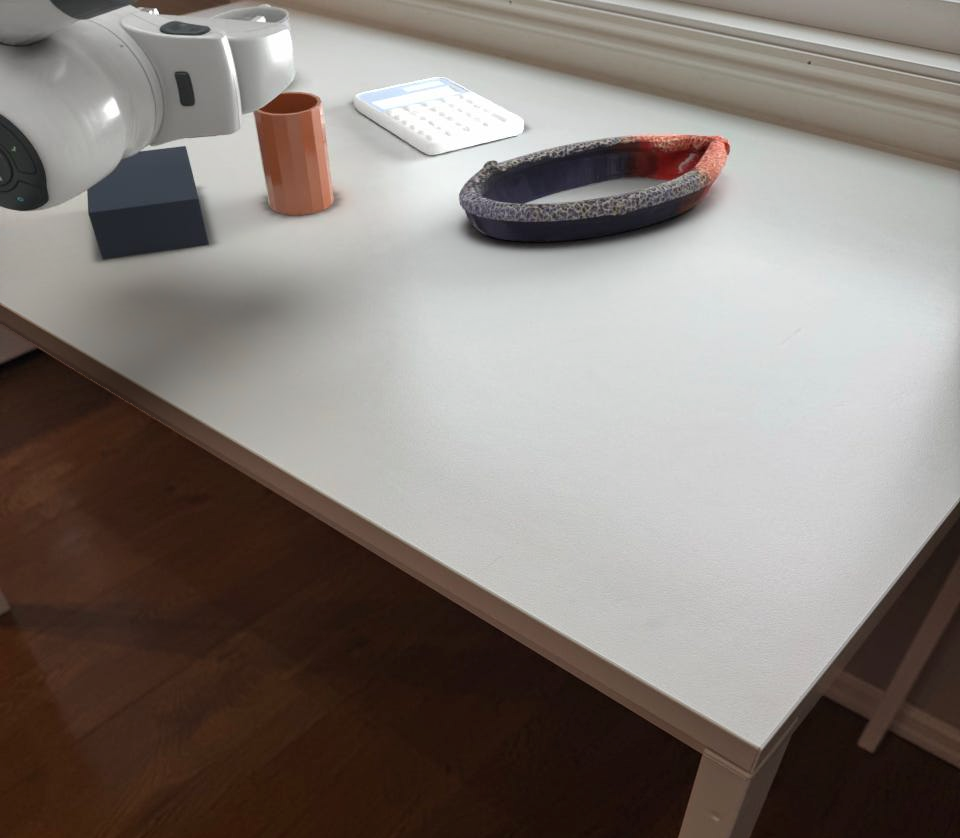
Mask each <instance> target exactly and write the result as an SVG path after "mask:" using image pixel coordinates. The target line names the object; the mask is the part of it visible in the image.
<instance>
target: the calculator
mask: <svg viewBox="0 0 960 838" xmlns="http://www.w3.org/2000/svg"><path fill="white" fill-rule="evenodd" d="M353 104H354V107H355V109H356V110H357V111H358V112H359V113H361V115H364V116H365V117H367V118H368V119H370V120H371V121H373V122H374V123H376V124H378V126H379V125H380V127H382V128H384V129H385V130H387V131H388V132H390V133H392V134H394V135H395V136H396V137H398V138H399V139H401V140H403V141H404V142H406V143H407V144H408V145H410V146H412V147H413V148H415V149H417V150H418V151H420V152H422V153H423V154H425V155H429V156H432V155H433V156H436V155H440V154H445V153H449V152H453V151H457V150H461V149H466V148H470V147H474V146H478V145H481V144H482V145H483V144H487V143H491V142H494V141H498V140H502V139H506V138H510V137H514V136H519V135H521V134H522V133H523V131H524V127H525V123H524V119H523V118H522V117H521V116H519V115H517V114H515V113H513V112H511V111H509V110H508V109H506V108H504V107H503V106H500V105H498V104H496V103H495V102H492V101H491V100H488V99H487V98H485V97H484V96H482V95H479V94H478V93H476V92H474V91H472V90H470V89H468V88H466V87H464V86H462V85H460V84H458V83H457V82H455V81H453V80H451V79H449V78H447V77H445V76H444V77H443V76H434V77H429V78H424V79H419V80H413V81H410V82H404V83H401V84H396V85H391V86H386V87H382V88H376V89H371V90H367V91H362V92H359V93H355V95H354V97H353Z"/></svg>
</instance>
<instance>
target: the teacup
mask: <svg viewBox="0 0 960 838" xmlns="http://www.w3.org/2000/svg"><path fill="white" fill-rule="evenodd" d="M246 15H254V16H264V17H265V19H266V22H273V23H282V24H284V25H285V26H286V27H287V28H288V29H289V31H290V33H291V36H292V37H293V35H292V30H291V23H290V12H289V11H288V10H286V9H285V8H281V7H278V6H271V5H270V4H269V3H261V4H259V5H258V6H257V5H256V6H249V7H240V8H234V9H233V8H232V9H230V10H228V11H227V10H225V11H222V12H220V13H217V14H213V15H212V16H209V18H217V19H230V20H240V19H241V18H243V17H245V16H246ZM292 41H293V42H294V39H292ZM293 47H294V48H295V46H294V45H293Z"/></svg>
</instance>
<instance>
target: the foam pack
mask: <svg viewBox="0 0 960 838" xmlns="http://www.w3.org/2000/svg"><path fill="white" fill-rule="evenodd" d="M196 185H197V184H196V181H195V177H194V174H193V169H192V165H191V162H190V158H189V152H188V149H187V146H186V145H181V146H173V147H172V146H171V147H166V148H165V147H164V148H157V149H148V150H141V151H140V152H138V153H137V154H135V155H133V156H131V157H128V158H125V159H121V160H120V162H119V164H118V165H117V167H116V168H115V169H114V170H113V171H112V172H111V173H110V174H109V175H108V176H106V177H105V178H104V179H102V180H101V181H99V182H98V183H96V184H95V185H94V186H92V187H91V188H89V189H88V190H86V193H87V194H86V195H87V213H88V214H87V215H88V217H89V220H90V223H91V228H92V230H93V233H94V236H95V239H96V243H97V246H98V251H99V253H100V256H101V259H102V260H109V259H116V258H122V257H123V258H124V257H132V256H136V255H137V256H138V255H144V254H153V253H157V252H159V253H160V252H166V251H172V250H180V249H189V248H194V247H201V246H208V245H210V242H209V238H208V234H207V229H206V224H205V220H204V215H203V211H202V207H201V202H200V198H199V194H198V193H199V192H198V189H197V186H196Z"/></svg>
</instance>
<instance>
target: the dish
mask: <svg viewBox="0 0 960 838" xmlns="http://www.w3.org/2000/svg"><path fill="white" fill-rule="evenodd" d="M730 152H731V143H730V141H729V139H727V138H724V137H723V136H721V135H720V134H718V135H706V134H705V135H703V134H702V135H701V134H679V133H677V134H675V133H674V134H673V133H670V134H669V133H667V134H662V133H661V134H633V135H622V136H613V137H612V136H611V137H605V138H595V139H591V140H584V141H579V142H574V143H569V144H564V145H559V146H555V147H554V146H553V147H551V148H546V149H543V150H542V149H541V150H538V151H534V152H531V153H527V154H524V155H521V156H517V157H513V158H511V159H507V160H503V161H500V162H498V161H497V160H494V159H493V160H488V161H486V162H485V163H484V165H483V166H482V168H481V169H480V170H478V171H477V172H475V173H474V175H472V176H471V177H470V178H469V179H468V180H467V181H466V182H465V183H464V184H463V186H462V188H461V189H460V191H459V193H458V200H459V205H460V207H461V208H462V209H463V210H464V213H465V215H466V218H467V220H468V221H469V223H470V224H471V225H472V226H473V227H475V228H476V230H478V231H479V232H480V233H482V234H483V235H486V236H487V237H491V238H494V239H497V240H504V241H514V242H532V243H533V242H534V243H540V242H541V243H544V242H545V243H547V242H567V241H577V240H585V239H593V238H600V237H606V236H610V235H616V234H621V233H624V232H628V231H629V232H630V231H633V230H637V229H641V228H645V227H647V226H651V225H654V224H657V223H661V222H663V221H666V220H669V219H671V218H673V217H676V216H679V215H681V214H683V213H685V212H688V211H689V210H691V209H693V208H694V207H695V206H696V205H698V204H699V203H700V202H701V201H703V199H704V197H705V196H707V194H708V192H709V191H710V189H711V188H712V186H713V184H714V183H715V181H716V180H717V179H718V178H719V176H720V174H721V173H722V171H723V169H724V167H725V166H726V163H727V160H728V156H729V155H730ZM625 178H642V179H643V178H644V179H651V180H661V181H665V182H662V183H660V184H659V183H658V184H656V185H653V186H649V187H646V188H642V189H638V190H633V191H629V192H625V193H620V194H615V195H614V194H613V195H609V196H603V197H598V198H591V199H584V200H583V199H582V200H576V201H574V200H573V201H564V202H563V201H562V202H551V203H550V202H549V203H530V202H533V201H537V200H539V199H542V198H545V197H548V196H551V195H555V194H558V193H562V192H565V191H566V192H567V191H570V190H575V189H577V188H578V189H579V188H582V187H587V186H590V185H595V184H599V183H603V182H607V181H612V180H618V179H619V180H620V179H625Z"/></svg>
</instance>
